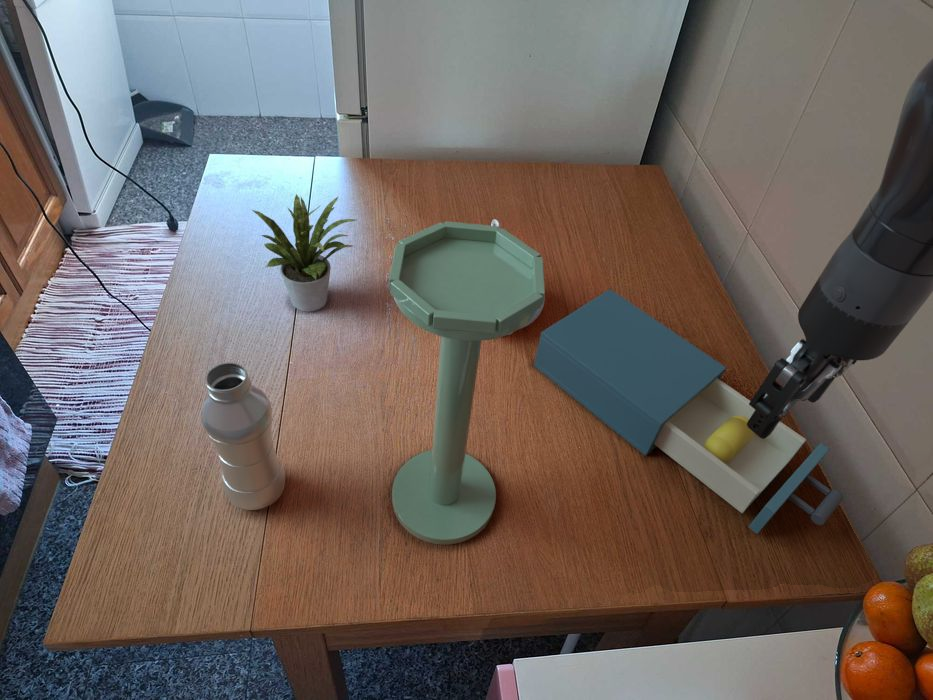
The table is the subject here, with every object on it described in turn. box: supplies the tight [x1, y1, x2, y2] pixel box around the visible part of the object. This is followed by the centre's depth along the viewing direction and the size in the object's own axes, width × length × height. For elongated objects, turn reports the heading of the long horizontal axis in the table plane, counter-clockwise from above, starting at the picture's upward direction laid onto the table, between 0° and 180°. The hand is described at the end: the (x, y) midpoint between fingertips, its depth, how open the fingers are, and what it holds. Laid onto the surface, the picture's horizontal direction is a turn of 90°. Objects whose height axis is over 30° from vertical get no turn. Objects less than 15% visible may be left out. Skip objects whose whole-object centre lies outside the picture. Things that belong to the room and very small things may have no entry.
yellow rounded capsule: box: [704, 416, 754, 463], centre depth 80 cm, size 8×4×4 cm, turn 132°
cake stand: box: [388, 220, 546, 546], centre depth 63 cm, size 12×12×34 cm
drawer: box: [654, 378, 844, 535], centre depth 79 cm, size 23×14×5 cm, turn 42°
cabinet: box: [533, 288, 727, 457], centre depth 88 cm, size 20×15×7 cm
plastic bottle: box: [200, 362, 286, 511], centre depth 67 cm, size 6×7×20 cm
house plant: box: [251, 193, 357, 313], centre depth 91 cm, size 14×14×16 cm
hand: (782, 413), depth 65 cm, fingers open, 8 cm apart
